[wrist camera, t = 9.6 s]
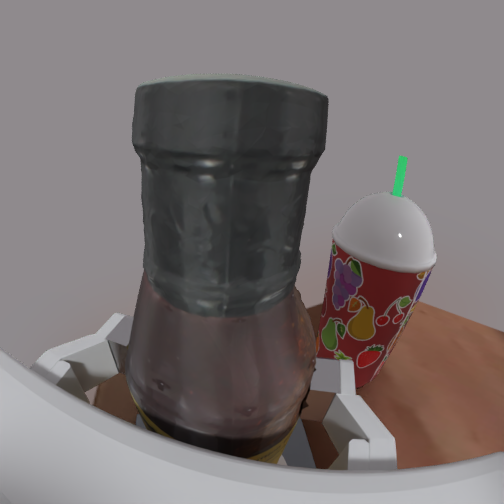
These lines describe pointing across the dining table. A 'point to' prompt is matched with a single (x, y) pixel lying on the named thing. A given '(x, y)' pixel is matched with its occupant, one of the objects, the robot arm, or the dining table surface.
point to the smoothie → (374, 278)
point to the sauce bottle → (224, 260)
